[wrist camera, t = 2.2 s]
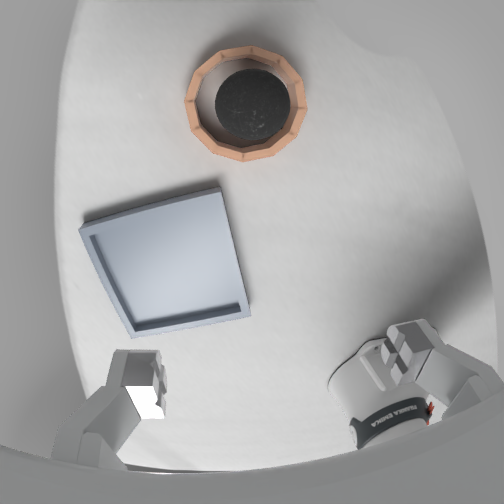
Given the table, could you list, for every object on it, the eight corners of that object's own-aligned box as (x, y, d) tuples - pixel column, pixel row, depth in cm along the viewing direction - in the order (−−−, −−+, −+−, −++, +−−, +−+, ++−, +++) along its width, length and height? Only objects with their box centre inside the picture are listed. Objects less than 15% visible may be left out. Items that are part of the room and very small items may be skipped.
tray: (220, 186, 32) (220, 191, 30) (249, 307, 39) (251, 316, 38) (83, 223, 31) (78, 229, 30) (133, 329, 39) (131, 338, 38)
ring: (287, 44, 25) (294, 40, 23) (304, 144, 30) (313, 149, 28) (178, 64, 25) (175, 60, 22) (201, 164, 30) (200, 171, 28)
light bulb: (279, 119, 29) (309, 131, 20) (226, 138, 29) (232, 156, 20) (261, 68, 26) (284, 55, 17) (206, 86, 26) (203, 81, 18)
